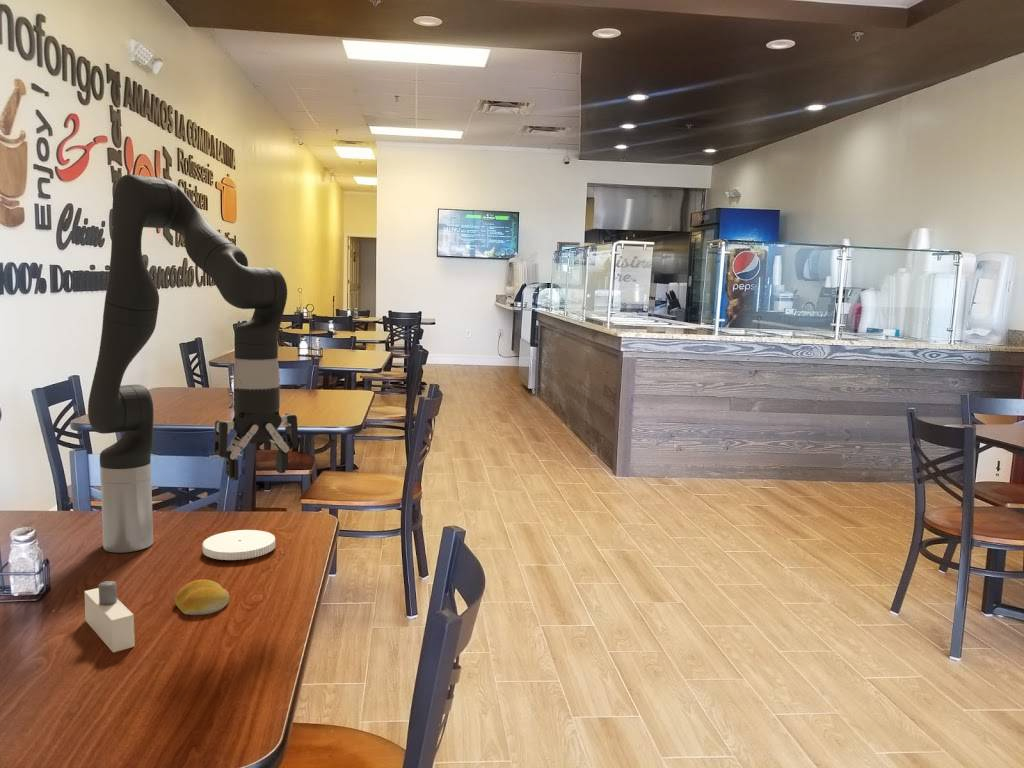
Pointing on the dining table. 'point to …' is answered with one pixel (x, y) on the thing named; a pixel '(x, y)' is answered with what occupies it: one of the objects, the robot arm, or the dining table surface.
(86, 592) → the bench stop
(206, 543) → the plastic lid
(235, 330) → the robot arm
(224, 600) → the bread roll
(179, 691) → the dining table surface
